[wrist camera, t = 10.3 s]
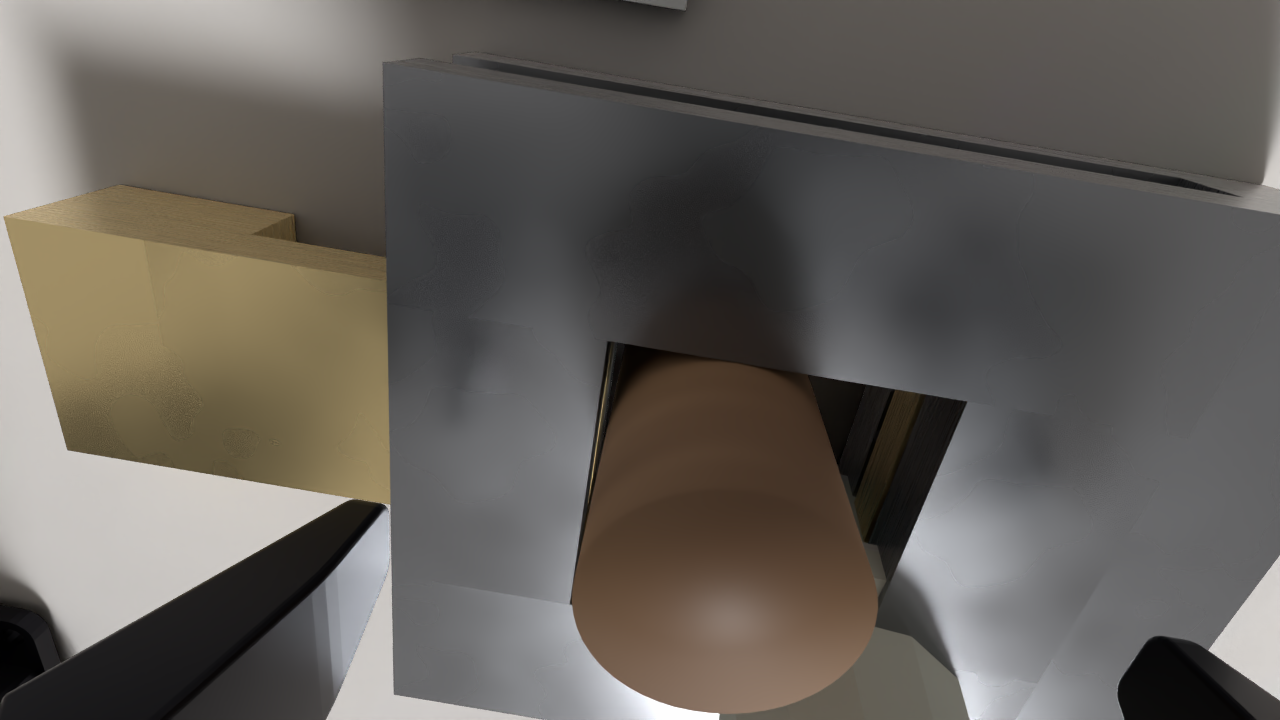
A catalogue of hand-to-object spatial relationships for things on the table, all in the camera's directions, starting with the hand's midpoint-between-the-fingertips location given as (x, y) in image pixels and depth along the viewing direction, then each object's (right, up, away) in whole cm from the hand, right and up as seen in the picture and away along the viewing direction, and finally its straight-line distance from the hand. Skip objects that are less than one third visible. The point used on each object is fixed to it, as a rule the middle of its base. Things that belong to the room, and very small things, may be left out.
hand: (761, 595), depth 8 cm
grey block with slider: (-2, +2, +4) cm, 5 cm away
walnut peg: (0, +3, +4) cm, 5 cm away
